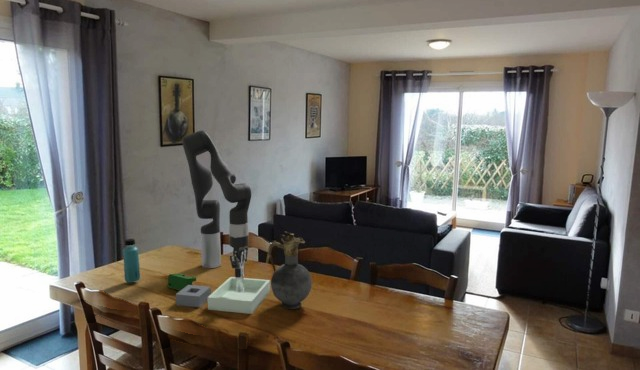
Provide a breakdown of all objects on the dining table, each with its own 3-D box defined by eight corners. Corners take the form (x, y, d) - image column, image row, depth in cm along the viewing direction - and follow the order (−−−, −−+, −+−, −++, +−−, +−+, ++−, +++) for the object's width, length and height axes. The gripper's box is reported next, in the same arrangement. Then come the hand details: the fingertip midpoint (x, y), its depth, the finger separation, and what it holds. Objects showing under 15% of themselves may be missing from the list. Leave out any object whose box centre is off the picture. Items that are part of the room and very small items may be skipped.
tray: (230, 287, 188) (230, 276, 187) (270, 291, 184) (270, 280, 183) (207, 309, 166) (207, 297, 166) (252, 313, 163) (251, 301, 162)
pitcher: (299, 315, 162) (299, 238, 157) (260, 303, 172) (259, 230, 167) (315, 305, 171) (316, 231, 166) (277, 294, 181) (277, 224, 176)
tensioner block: (188, 295, 180) (188, 284, 179) (211, 297, 178) (210, 286, 177) (176, 305, 170) (175, 294, 169) (199, 307, 168) (199, 296, 167)
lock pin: (238, 289, 176) (237, 260, 175) (245, 289, 176) (244, 261, 174) (234, 292, 173) (234, 263, 172) (242, 292, 173) (241, 264, 171)
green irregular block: (191, 297, 188) (200, 280, 187) (181, 299, 182) (190, 281, 181) (175, 282, 193) (183, 264, 192) (164, 283, 188) (173, 265, 187)
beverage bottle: (136, 285, 189) (134, 241, 186) (121, 285, 190) (118, 241, 186) (143, 280, 196) (140, 237, 193) (128, 280, 196) (126, 237, 193)
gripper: (236, 228, 179) (237, 268, 181) (222, 238, 165) (223, 281, 168) (254, 230, 177) (254, 270, 180) (241, 239, 163) (242, 282, 166)
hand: (239, 275), depth 174 cm, fingers closed on lock pin, 3 cm apart
